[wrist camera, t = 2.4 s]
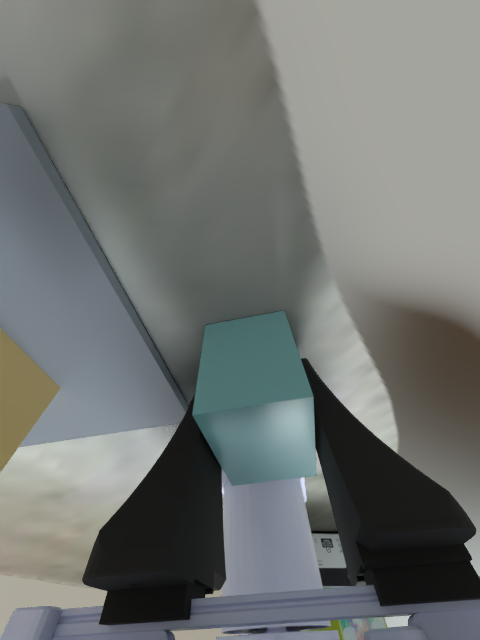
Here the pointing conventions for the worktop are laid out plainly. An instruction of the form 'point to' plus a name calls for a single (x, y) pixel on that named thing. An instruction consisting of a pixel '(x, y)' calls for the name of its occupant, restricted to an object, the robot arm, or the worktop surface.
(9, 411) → the mustard brick
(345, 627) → the tea box
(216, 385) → the teal brick
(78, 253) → the baseplate
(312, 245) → the worktop surface
